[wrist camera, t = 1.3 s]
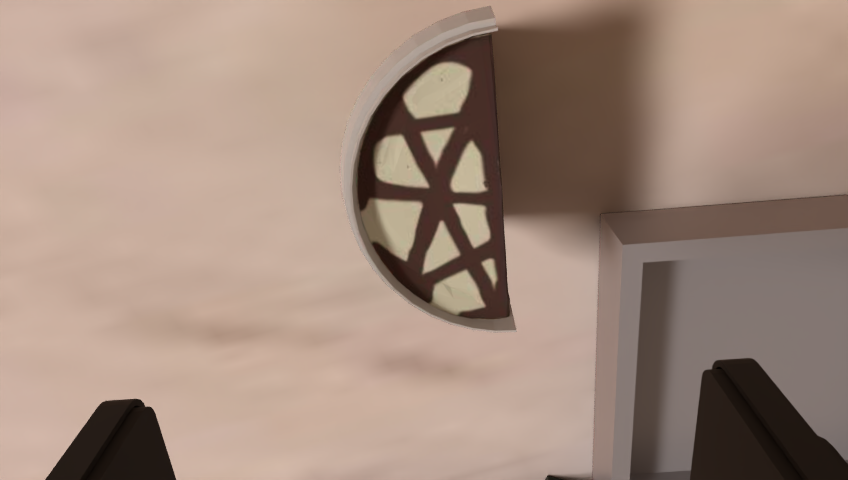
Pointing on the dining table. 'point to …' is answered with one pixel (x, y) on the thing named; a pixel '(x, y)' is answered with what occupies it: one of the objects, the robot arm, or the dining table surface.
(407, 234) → the food container
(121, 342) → the dining table surface
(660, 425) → the tray
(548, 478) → the teal animal figurine
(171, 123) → the dining table surface
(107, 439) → the robot arm
